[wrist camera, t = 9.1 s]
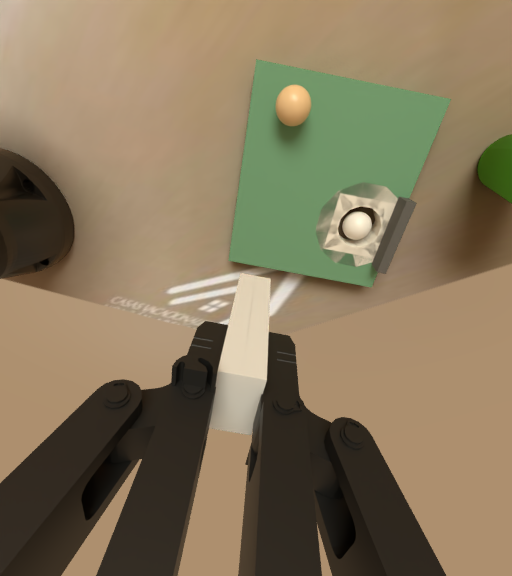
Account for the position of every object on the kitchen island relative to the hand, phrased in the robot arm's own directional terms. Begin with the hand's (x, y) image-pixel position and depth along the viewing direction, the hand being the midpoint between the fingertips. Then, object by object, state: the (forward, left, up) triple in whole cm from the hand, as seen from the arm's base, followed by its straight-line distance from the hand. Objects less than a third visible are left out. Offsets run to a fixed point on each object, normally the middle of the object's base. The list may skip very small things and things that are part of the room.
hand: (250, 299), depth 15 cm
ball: (+11, -1, -21) cm, 24 cm away
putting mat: (+6, +2, -23) cm, 23 cm away
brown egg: (+1, +9, -19) cm, 21 cm away
